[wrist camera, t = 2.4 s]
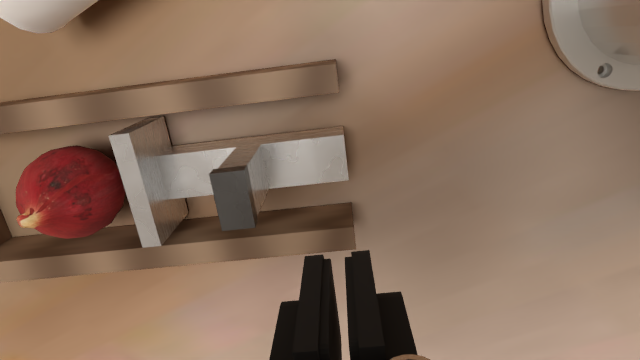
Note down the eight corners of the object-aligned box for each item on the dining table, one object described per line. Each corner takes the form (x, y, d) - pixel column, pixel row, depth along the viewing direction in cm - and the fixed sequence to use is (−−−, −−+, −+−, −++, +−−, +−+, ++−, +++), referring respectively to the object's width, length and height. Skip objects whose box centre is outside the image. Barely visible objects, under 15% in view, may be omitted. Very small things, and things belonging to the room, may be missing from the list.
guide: (335, 59, 26) (336, 64, 22) (353, 222, 30) (356, 257, 25) (-64, 110, 28) (-144, 125, 24) (0, 257, 32) (-57, 295, 28)
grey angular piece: (339, 94, 27) (341, 118, 19) (350, 195, 29) (356, 252, 22) (146, 118, 28) (76, 149, 20) (172, 214, 30) (118, 274, 23)
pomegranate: (86, 118, 28) (-4, 148, 21) (158, 165, 29) (98, 211, 22) (52, 180, 30) (-43, 230, 22) (122, 224, 31) (53, 285, 23)
